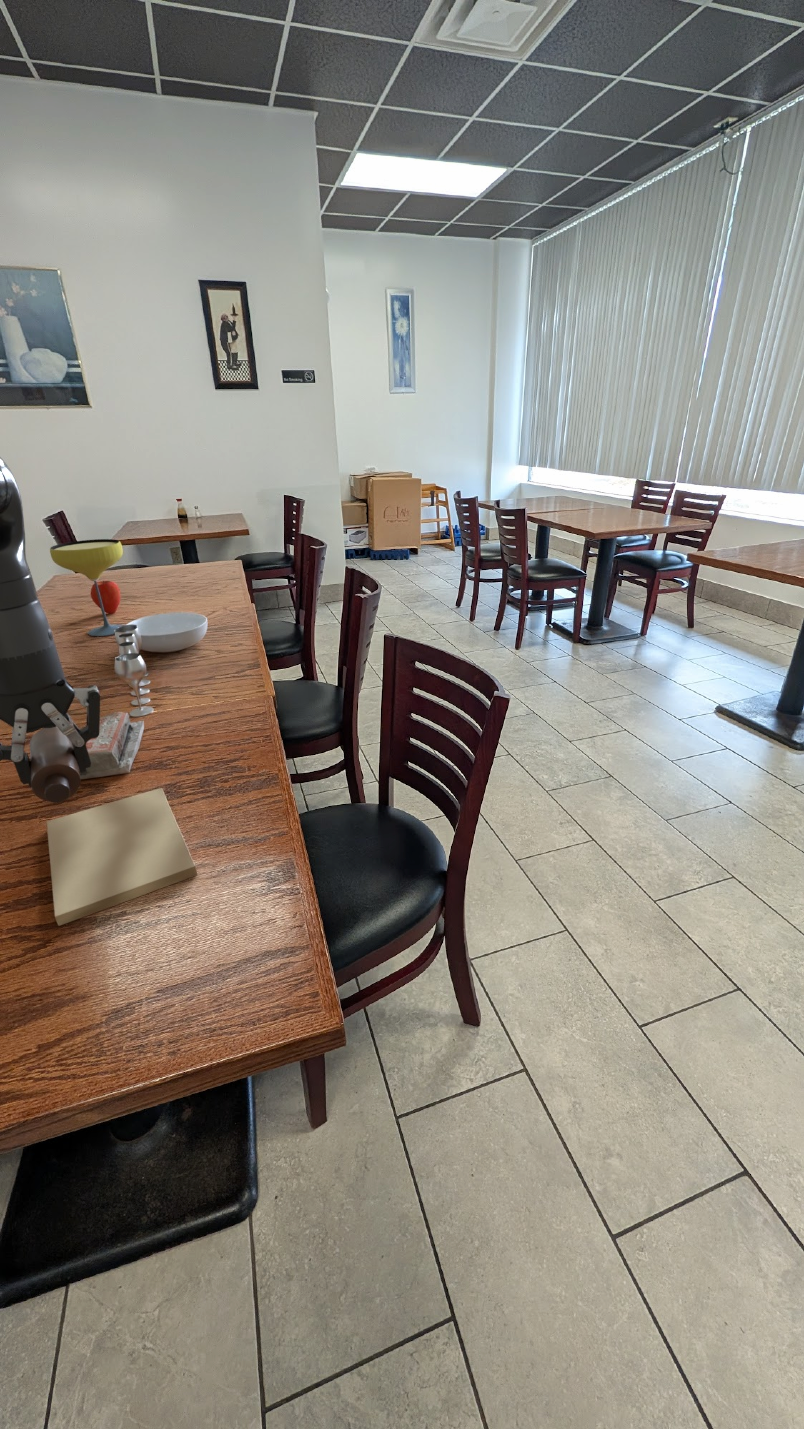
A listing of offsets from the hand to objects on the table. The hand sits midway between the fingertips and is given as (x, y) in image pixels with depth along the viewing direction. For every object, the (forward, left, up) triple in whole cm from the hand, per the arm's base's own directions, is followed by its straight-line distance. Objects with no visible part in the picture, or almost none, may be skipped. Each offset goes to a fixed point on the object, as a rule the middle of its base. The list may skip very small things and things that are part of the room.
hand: (58, 776), depth 71 cm
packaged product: (-8, +32, -14) cm, 36 cm away
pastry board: (+3, +3, -14) cm, 15 cm away
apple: (-41, +130, -14) cm, 137 cm away
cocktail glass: (-35, +110, -14) cm, 116 cm away
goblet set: (-11, +60, -14) cm, 63 cm away
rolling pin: (0, 0, 0) cm, 0 cm away
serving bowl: (-12, +91, -14) cm, 93 cm away
